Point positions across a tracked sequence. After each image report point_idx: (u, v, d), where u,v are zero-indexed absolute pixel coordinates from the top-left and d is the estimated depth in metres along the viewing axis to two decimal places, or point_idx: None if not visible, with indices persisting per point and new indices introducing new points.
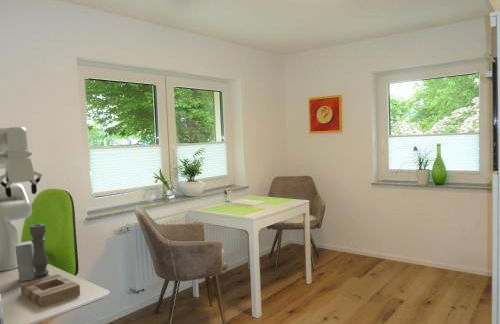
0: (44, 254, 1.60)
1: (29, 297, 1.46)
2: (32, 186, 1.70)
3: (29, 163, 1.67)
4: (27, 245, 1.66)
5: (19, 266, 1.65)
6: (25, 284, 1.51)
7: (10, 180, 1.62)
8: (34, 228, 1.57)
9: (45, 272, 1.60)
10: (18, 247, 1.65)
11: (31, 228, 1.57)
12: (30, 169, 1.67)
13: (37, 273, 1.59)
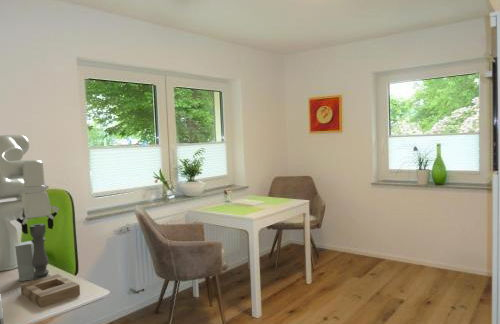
0: (44, 254, 1.60)
1: (29, 297, 1.46)
2: (49, 221, 1.63)
3: (46, 197, 1.60)
4: (27, 245, 1.66)
5: (19, 266, 1.65)
6: (25, 284, 1.51)
7: (26, 216, 1.55)
8: (34, 228, 1.57)
9: (45, 272, 1.60)
10: (18, 247, 1.65)
11: (31, 228, 1.57)
12: (47, 203, 1.60)
13: (37, 273, 1.59)
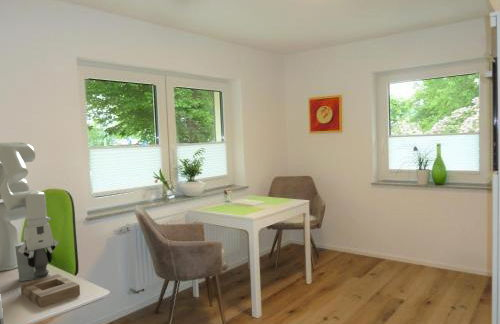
0: (44, 254, 1.60)
1: (29, 297, 1.46)
2: (47, 254, 1.63)
3: (48, 229, 1.61)
4: None
5: (19, 266, 1.65)
6: (25, 284, 1.51)
7: (29, 249, 1.56)
8: None
9: (45, 272, 1.60)
10: (18, 247, 1.65)
11: None
12: (49, 235, 1.61)
13: (37, 273, 1.59)
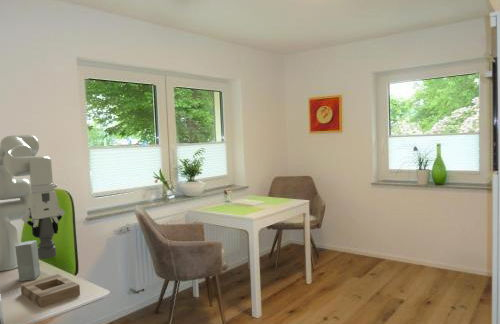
0: (50, 224, 1.48)
1: (29, 297, 1.46)
2: (53, 225, 1.51)
3: (54, 197, 1.49)
4: (27, 245, 1.66)
5: (19, 266, 1.65)
6: (25, 284, 1.51)
7: (33, 217, 1.43)
8: None
9: (51, 243, 1.48)
10: (18, 247, 1.65)
11: None
12: (55, 203, 1.49)
13: (42, 244, 1.46)
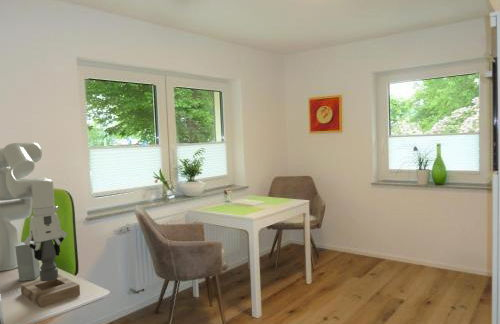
0: (52, 246, 1.48)
1: (29, 297, 1.46)
2: (55, 247, 1.51)
3: (56, 219, 1.49)
4: (27, 245, 1.66)
5: (19, 266, 1.65)
6: (25, 284, 1.51)
7: (35, 240, 1.44)
8: None
9: (53, 266, 1.48)
10: (18, 247, 1.65)
11: None
12: (57, 226, 1.49)
13: (44, 267, 1.47)
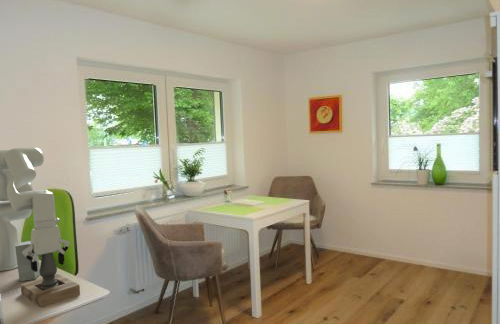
0: (52, 262, 1.49)
1: (29, 297, 1.46)
2: (59, 256, 1.52)
3: (57, 231, 1.49)
4: (27, 245, 1.66)
5: (19, 266, 1.65)
6: (25, 284, 1.51)
7: (36, 253, 1.44)
8: None
9: (54, 281, 1.49)
10: (18, 247, 1.65)
11: None
12: (58, 238, 1.50)
13: (45, 283, 1.47)
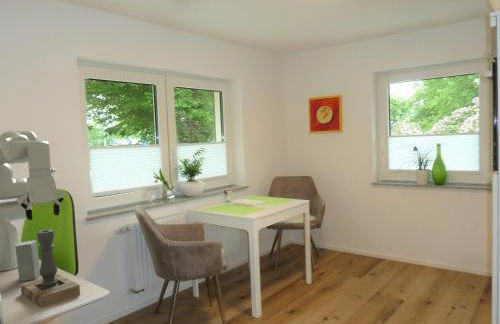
0: (53, 262, 1.49)
1: (29, 297, 1.46)
2: (54, 206, 1.52)
3: (52, 181, 1.49)
4: (27, 245, 1.66)
5: (19, 266, 1.65)
6: (25, 284, 1.51)
7: (31, 201, 1.44)
8: (42, 234, 1.46)
9: (54, 282, 1.49)
10: (18, 247, 1.65)
11: (39, 234, 1.46)
12: (53, 188, 1.49)
13: (45, 283, 1.47)
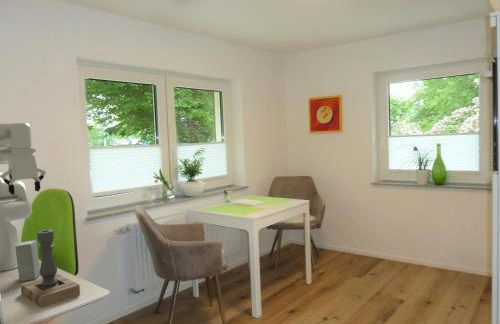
0: (53, 262, 1.49)
1: (29, 297, 1.46)
2: (35, 183, 1.67)
3: (33, 160, 1.64)
4: (27, 245, 1.66)
5: (19, 266, 1.65)
6: (25, 284, 1.51)
7: (13, 177, 1.58)
8: (42, 234, 1.46)
9: (54, 282, 1.49)
10: (18, 247, 1.65)
11: (39, 234, 1.46)
12: (34, 166, 1.64)
13: (45, 283, 1.47)
